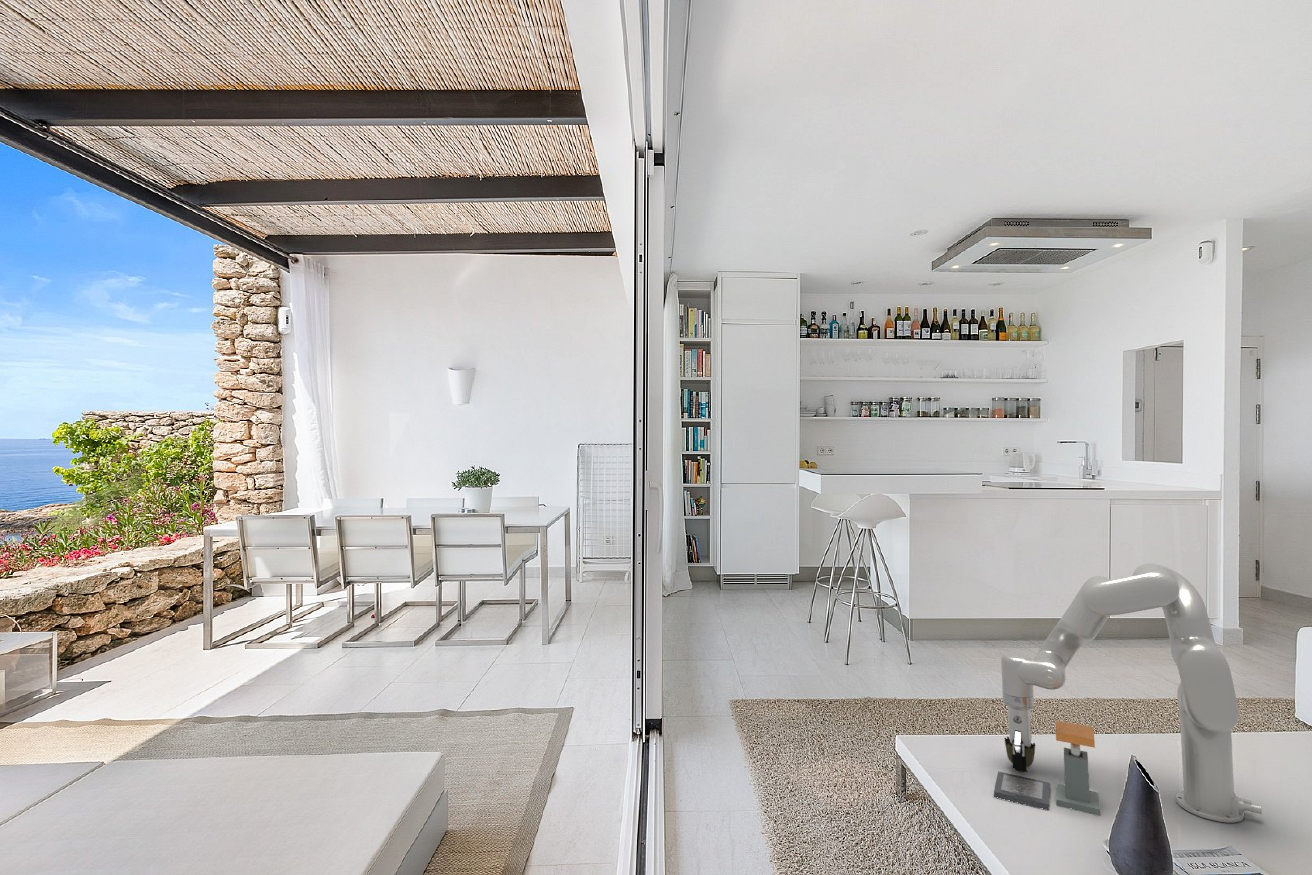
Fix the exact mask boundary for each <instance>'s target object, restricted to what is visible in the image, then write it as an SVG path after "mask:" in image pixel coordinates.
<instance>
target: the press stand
mask: <svg viewBox="0 0 1312 875" xmlns="http://www.w3.org/2000/svg"><path fill="white" fill-rule="evenodd" d="M1080 756H1081V757H1077V756H1072V755H1071V748H1068V747H1063V763H1064V764H1063V765H1064V784H1061V783H1058V782H1057V783H1056V787H1055V788H1056V790H1055V791H1056V792H1055V795H1056V796H1055V804H1056V805H1057V806H1056V807H1061V808H1065V809H1069V808H1072V809H1071V810H1073V809H1075V810H1074V811H1078V810H1079V811H1078V812H1082V813H1086V812H1088V813H1087V814H1092V815H1095V816H1100V817H1101V806H1100V805H1101V804H1100V796H1099V795H1100V794H1099V791H1095V790H1090V780H1089V778H1090V777H1089V775H1090V774H1089V758H1088V757H1089V756H1088V751H1086V750H1084V751H1083V750H1080Z"/></svg>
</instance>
